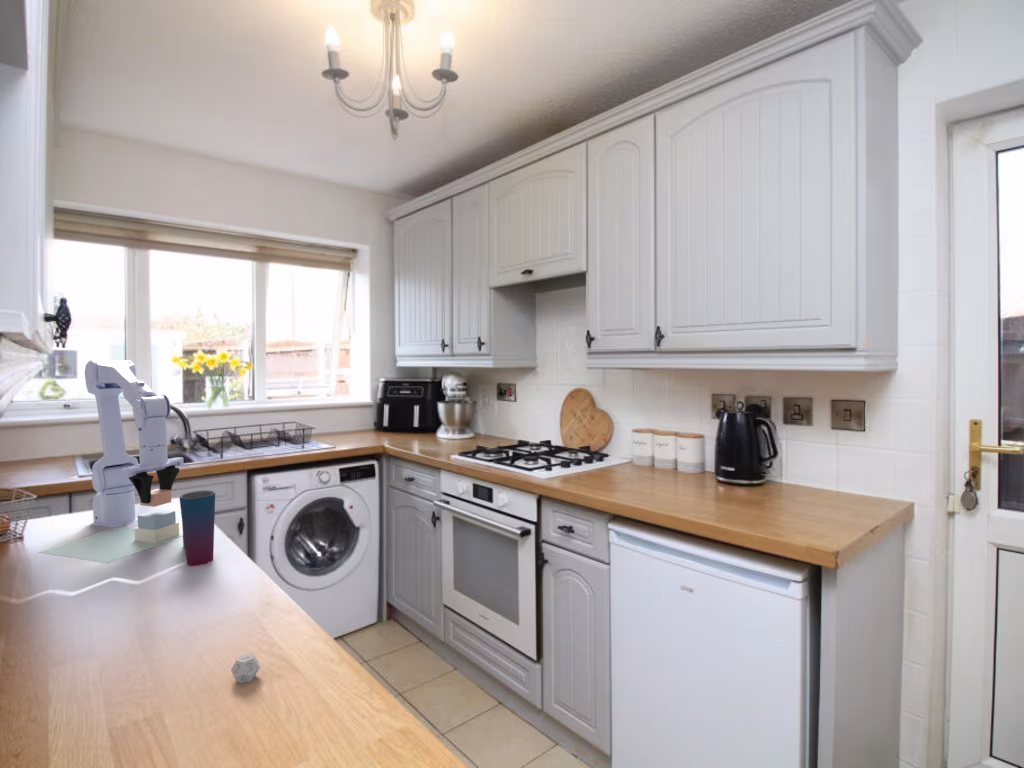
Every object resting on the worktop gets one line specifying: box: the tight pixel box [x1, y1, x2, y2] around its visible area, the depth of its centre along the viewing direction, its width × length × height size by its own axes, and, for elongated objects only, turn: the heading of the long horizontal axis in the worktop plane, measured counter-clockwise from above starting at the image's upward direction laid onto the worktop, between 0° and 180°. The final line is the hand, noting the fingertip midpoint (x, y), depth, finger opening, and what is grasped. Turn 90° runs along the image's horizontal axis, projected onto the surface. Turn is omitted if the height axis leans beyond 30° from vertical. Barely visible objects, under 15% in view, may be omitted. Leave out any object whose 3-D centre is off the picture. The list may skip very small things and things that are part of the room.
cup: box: [179, 489, 216, 567], centre depth 118 cm, size 7×7×15 cm
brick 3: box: [133, 521, 180, 543], centre depth 132 cm, size 6×6×3 cm
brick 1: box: [139, 488, 172, 508], centre depth 131 cm, size 4×4×3 cm
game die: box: [230, 653, 261, 684], centre depth 75 cm, size 4×4×3 cm
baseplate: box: [39, 525, 183, 564], centre depth 128 cm, size 22×19×1 cm
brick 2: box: [137, 509, 177, 530], centre depth 132 cm, size 6×6×3 cm
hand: (155, 500), depth 131 cm, fingers closed on brick 1, 4 cm apart
